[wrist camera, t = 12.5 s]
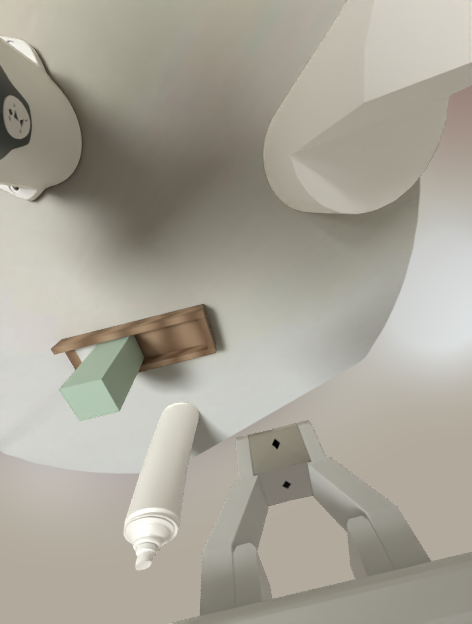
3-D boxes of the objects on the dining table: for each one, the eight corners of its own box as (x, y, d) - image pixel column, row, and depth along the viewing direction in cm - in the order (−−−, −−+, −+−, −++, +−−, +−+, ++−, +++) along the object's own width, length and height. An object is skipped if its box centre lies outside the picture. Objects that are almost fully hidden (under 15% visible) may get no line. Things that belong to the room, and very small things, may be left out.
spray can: (198, 439, 60) (188, 582, 37) (153, 439, 59) (114, 587, 36) (200, 402, 56) (190, 537, 33) (151, 401, 54) (106, 541, 31)
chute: (203, 303, 47) (202, 310, 43) (215, 343, 50) (216, 352, 47) (61, 339, 47) (50, 349, 44) (84, 376, 51) (75, 387, 47)
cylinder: (249, 108, 36) (339, -152, 10) (364, 63, 35) (789, -347, 9) (278, 227, 42) (378, 254, 17) (376, 192, 42) (639, 164, 16)
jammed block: (132, 331, 46) (101, 379, 33) (144, 357, 49) (119, 411, 36) (101, 339, 46) (58, 389, 33) (115, 365, 49) (79, 421, 36)
